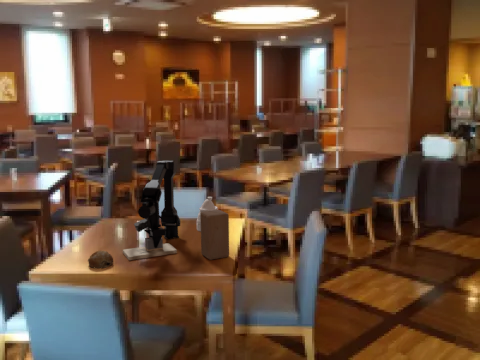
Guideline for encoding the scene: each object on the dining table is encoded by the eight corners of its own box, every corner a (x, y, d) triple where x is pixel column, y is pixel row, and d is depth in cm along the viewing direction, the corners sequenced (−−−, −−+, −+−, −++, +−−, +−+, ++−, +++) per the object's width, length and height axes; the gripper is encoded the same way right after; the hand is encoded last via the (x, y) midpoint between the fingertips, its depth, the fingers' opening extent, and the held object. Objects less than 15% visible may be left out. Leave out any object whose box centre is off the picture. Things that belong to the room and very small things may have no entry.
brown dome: (97, 278, 199) (101, 262, 196) (81, 264, 203) (85, 249, 200) (114, 270, 207) (119, 256, 204) (99, 257, 211) (103, 243, 208)
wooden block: (209, 260, 208) (208, 216, 204) (200, 254, 216) (199, 211, 213) (230, 257, 212) (229, 213, 209) (220, 251, 221) (219, 208, 218)
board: (168, 246, 230) (168, 243, 229) (176, 253, 219) (176, 249, 219) (122, 252, 220) (122, 249, 220) (128, 260, 209) (128, 257, 209)
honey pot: (225, 229, 259) (224, 196, 256) (205, 233, 251) (205, 200, 248) (210, 224, 269) (210, 193, 266) (192, 228, 261) (191, 196, 258)
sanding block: (160, 246, 223) (159, 236, 223) (162, 248, 220) (162, 238, 219) (145, 248, 220) (144, 238, 220) (148, 251, 216) (147, 240, 216)
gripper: (130, 211, 222) (131, 243, 225) (140, 219, 206) (142, 254, 208) (153, 208, 227) (154, 240, 229) (165, 216, 210) (167, 250, 213)
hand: (154, 246), depth 220 cm, fingers closed on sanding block, 4 cm apart
